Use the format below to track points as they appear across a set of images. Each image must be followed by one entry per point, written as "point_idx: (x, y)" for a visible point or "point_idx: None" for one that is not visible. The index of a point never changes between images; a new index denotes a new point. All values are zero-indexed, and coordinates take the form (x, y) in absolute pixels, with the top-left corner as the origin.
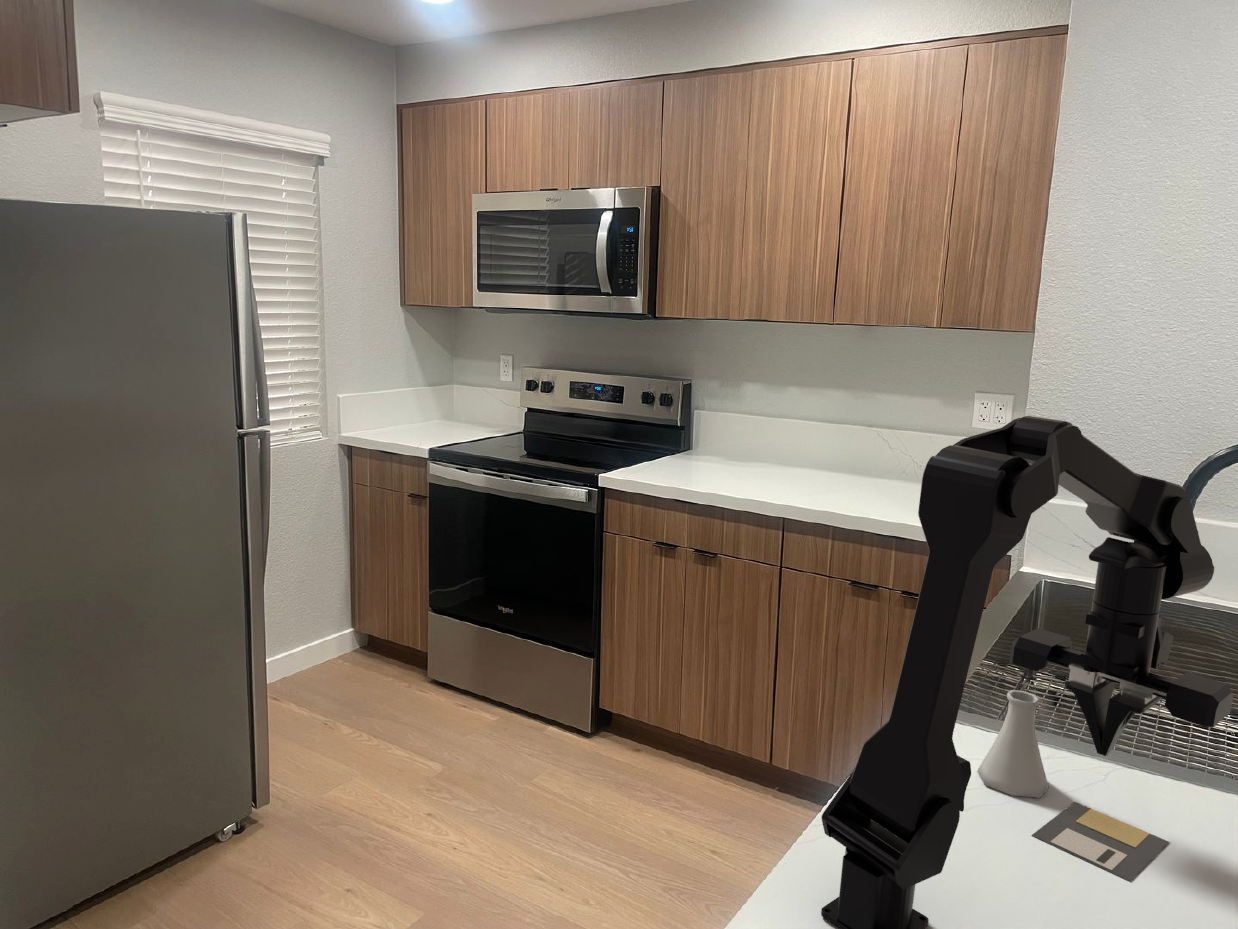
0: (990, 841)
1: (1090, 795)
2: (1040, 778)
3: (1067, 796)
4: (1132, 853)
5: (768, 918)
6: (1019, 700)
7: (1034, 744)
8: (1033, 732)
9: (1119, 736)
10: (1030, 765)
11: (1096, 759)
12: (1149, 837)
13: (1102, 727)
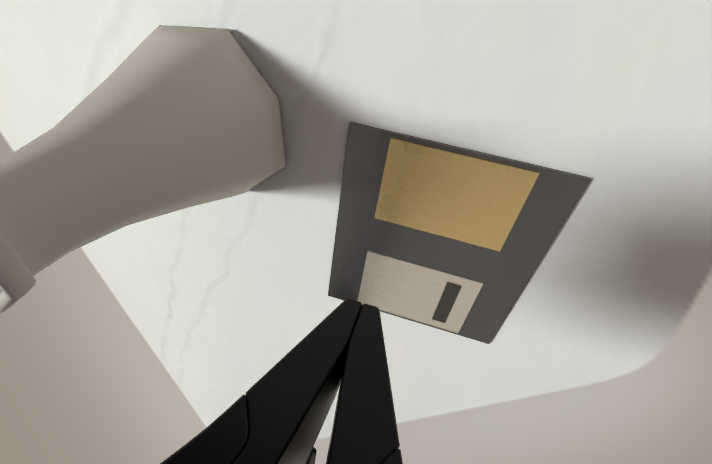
0: (292, 328)
1: (373, 38)
2: (254, 153)
3: (326, 97)
4: (493, 270)
5: None
6: None
7: (168, 184)
8: (128, 193)
9: (388, 381)
10: (217, 190)
11: None
12: (537, 189)
13: (309, 444)
